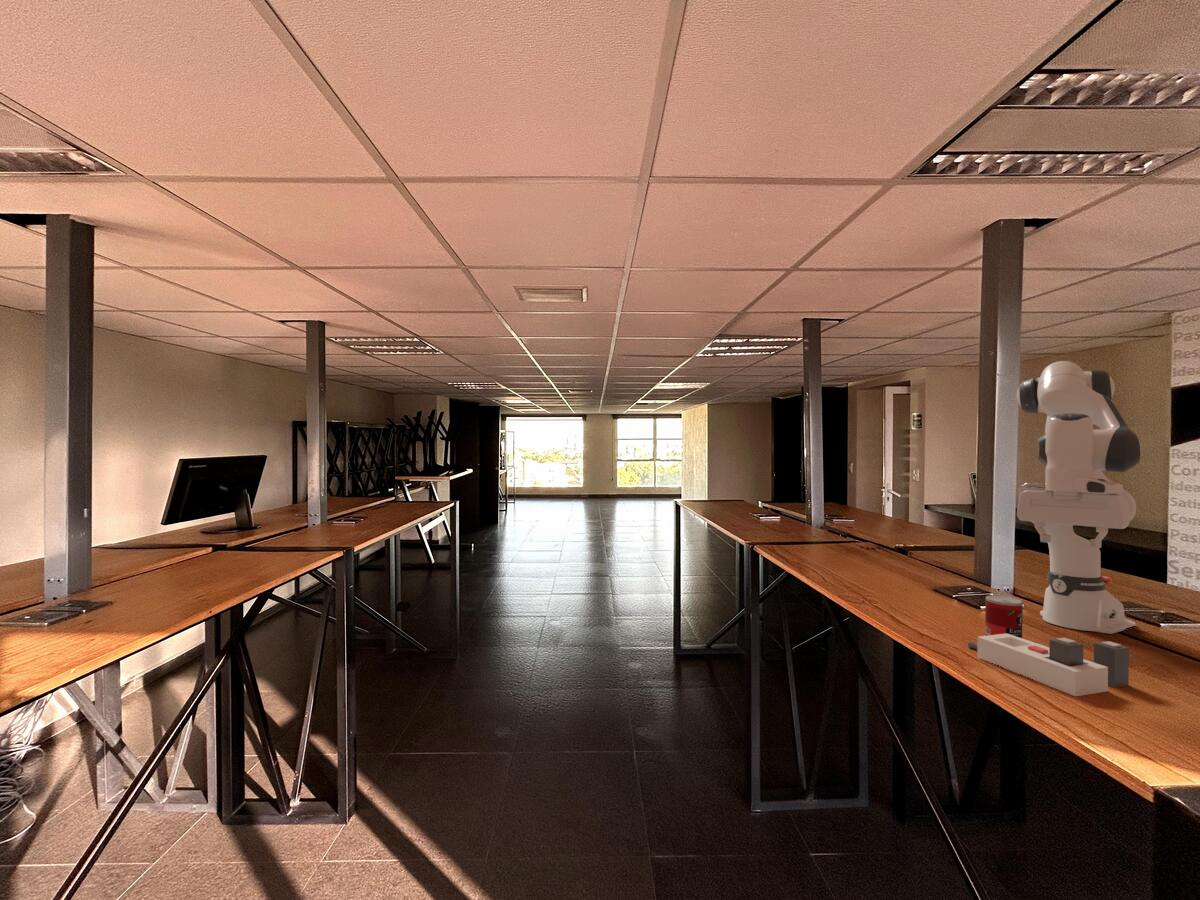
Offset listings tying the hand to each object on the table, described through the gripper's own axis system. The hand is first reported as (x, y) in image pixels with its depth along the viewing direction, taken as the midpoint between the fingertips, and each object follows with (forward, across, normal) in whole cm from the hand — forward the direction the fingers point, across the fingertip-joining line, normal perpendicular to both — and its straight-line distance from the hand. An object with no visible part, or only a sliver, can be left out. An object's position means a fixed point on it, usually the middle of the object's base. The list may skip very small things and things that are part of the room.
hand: (1069, 544), depth 131 cm
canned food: (+28, -17, +7) cm, 33 cm away
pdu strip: (+28, -5, -9) cm, 30 cm away
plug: (+28, +8, -2) cm, 29 cm away
